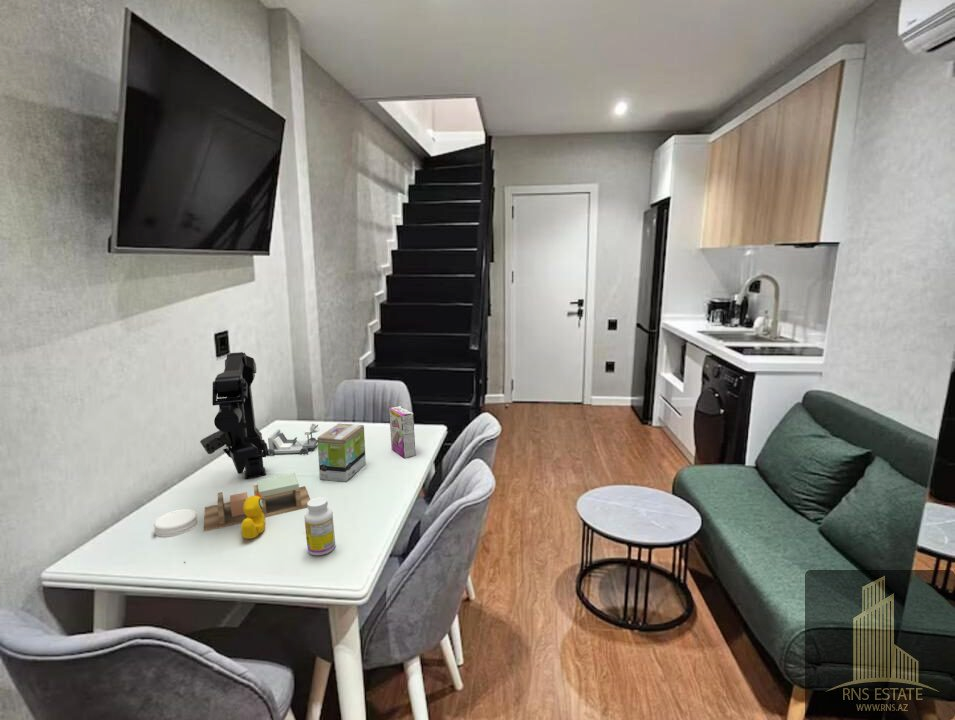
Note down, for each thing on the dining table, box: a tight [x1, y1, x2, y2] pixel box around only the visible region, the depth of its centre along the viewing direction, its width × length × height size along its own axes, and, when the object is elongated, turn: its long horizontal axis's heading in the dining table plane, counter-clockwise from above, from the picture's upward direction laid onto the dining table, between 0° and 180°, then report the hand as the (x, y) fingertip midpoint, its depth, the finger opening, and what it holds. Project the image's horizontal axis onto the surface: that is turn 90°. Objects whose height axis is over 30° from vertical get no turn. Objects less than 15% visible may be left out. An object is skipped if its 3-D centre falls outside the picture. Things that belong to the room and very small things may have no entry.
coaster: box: [153, 508, 199, 538], centre depth 135 cm, size 10×10×4 cm
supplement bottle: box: [304, 496, 336, 556], centre depth 123 cm, size 7×7×13 cm
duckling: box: [240, 493, 266, 540], centre depth 131 cm, size 11×5×10 cm, turn 6°
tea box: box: [316, 423, 367, 482], centre depth 168 cm, size 15×10×15 cm, turn 168°
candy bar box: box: [388, 405, 417, 459], centre depth 183 cm, size 11×5×16 cm, turn 34°
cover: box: [256, 472, 300, 497], centre depth 146 cm, size 8×11×2 cm
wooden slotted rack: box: [203, 484, 311, 533], centre depth 144 cm, size 15×28×6 cm, turn 117°
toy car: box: [266, 423, 321, 457], centre depth 189 cm, size 18×10×12 cm
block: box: [229, 491, 249, 517], centre depth 142 cm, size 4×4×4 cm
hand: (240, 473), depth 140 cm, fingers closed
